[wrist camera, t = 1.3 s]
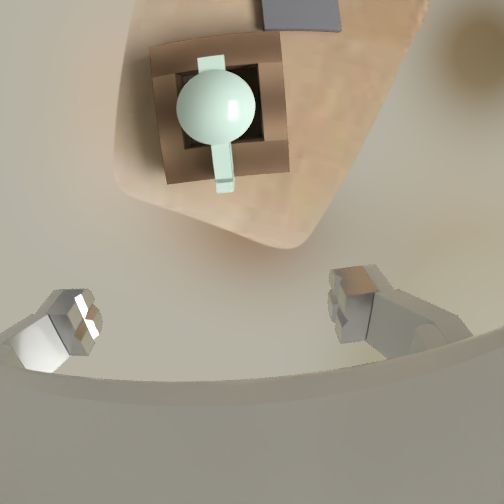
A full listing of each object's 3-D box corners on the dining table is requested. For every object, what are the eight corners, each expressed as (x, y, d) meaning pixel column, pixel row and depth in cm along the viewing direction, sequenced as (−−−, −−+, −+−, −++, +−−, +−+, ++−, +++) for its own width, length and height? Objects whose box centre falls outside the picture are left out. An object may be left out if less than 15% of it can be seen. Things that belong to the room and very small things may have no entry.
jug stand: (159, 53, 25) (149, 47, 22) (274, 39, 25) (279, 31, 22) (175, 174, 32) (167, 184, 29) (284, 163, 32) (289, 172, 29)
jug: (189, 71, 27) (170, 62, 19) (247, 64, 27) (250, 51, 19) (201, 172, 32) (189, 198, 24) (256, 166, 32) (262, 190, 24)
